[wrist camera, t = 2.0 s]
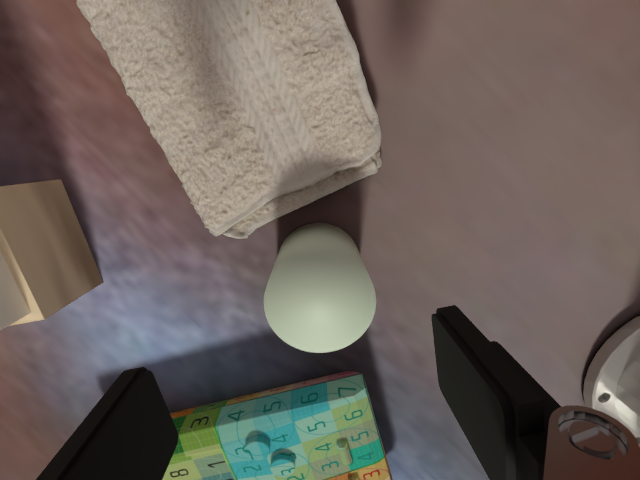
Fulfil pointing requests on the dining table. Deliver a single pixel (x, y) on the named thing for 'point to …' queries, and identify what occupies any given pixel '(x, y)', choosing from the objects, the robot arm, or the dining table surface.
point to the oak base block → (45, 247)
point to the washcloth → (245, 100)
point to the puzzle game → (283, 435)
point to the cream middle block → (10, 297)
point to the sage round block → (319, 290)
